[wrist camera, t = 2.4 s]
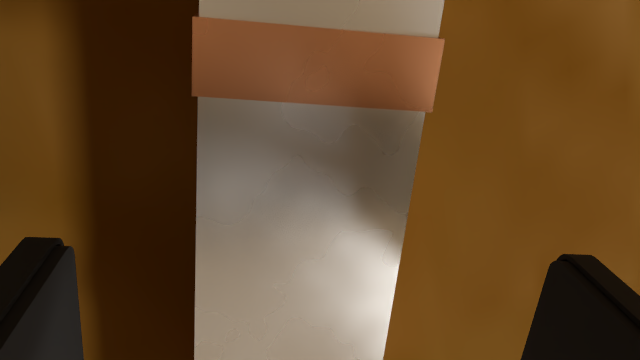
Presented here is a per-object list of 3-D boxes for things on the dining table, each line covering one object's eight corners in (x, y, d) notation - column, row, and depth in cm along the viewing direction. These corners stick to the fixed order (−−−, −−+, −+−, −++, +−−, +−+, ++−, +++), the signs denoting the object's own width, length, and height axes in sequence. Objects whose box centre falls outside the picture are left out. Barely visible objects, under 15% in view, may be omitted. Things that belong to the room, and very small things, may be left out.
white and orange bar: (321, 493, 20) (340, 631, 16) (200, 499, 20) (186, 644, 15) (425, -271, 12) (524, -410, 8) (217, -310, 11) (197, -485, 7)
